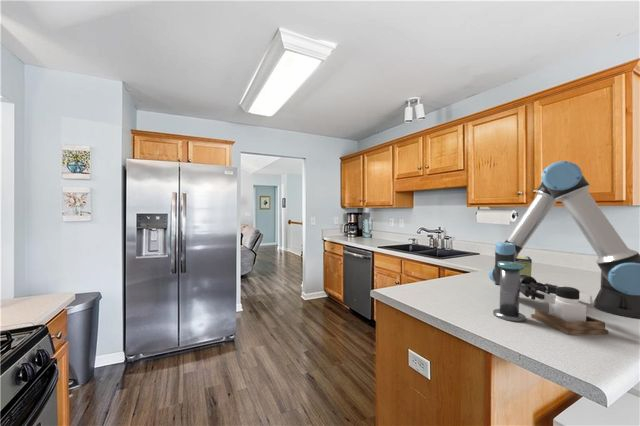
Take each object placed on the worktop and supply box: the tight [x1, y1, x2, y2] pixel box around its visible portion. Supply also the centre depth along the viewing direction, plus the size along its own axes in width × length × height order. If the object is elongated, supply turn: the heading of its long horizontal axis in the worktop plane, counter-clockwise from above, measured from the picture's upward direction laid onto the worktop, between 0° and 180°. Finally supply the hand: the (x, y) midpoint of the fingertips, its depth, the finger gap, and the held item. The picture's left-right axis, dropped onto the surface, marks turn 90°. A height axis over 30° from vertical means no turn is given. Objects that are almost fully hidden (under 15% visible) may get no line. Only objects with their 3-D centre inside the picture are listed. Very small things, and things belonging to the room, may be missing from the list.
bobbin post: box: [492, 261, 526, 323], centre depth 101 cm, size 10×10×20 cm
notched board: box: [530, 308, 609, 336], centre depth 95 cm, size 14×14×4 cm
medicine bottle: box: [548, 285, 588, 322], centre depth 95 cm, size 7×7×12 cm
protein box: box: [494, 255, 533, 286], centre depth 146 cm, size 10×16×16 cm
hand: (572, 300), depth 93 cm, fingers open, 13 cm apart
